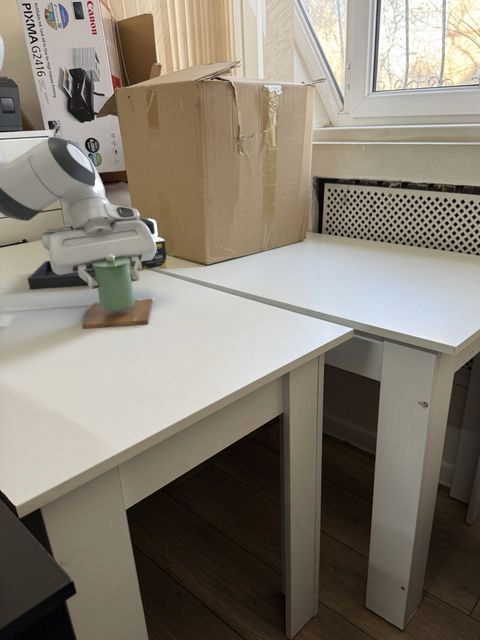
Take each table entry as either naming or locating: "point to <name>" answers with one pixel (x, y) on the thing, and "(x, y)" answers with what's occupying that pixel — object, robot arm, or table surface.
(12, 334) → the table surface
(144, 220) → the medicine bottle
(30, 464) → the table surface
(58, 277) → the tray
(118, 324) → the wooden coaster
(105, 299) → the green pot
